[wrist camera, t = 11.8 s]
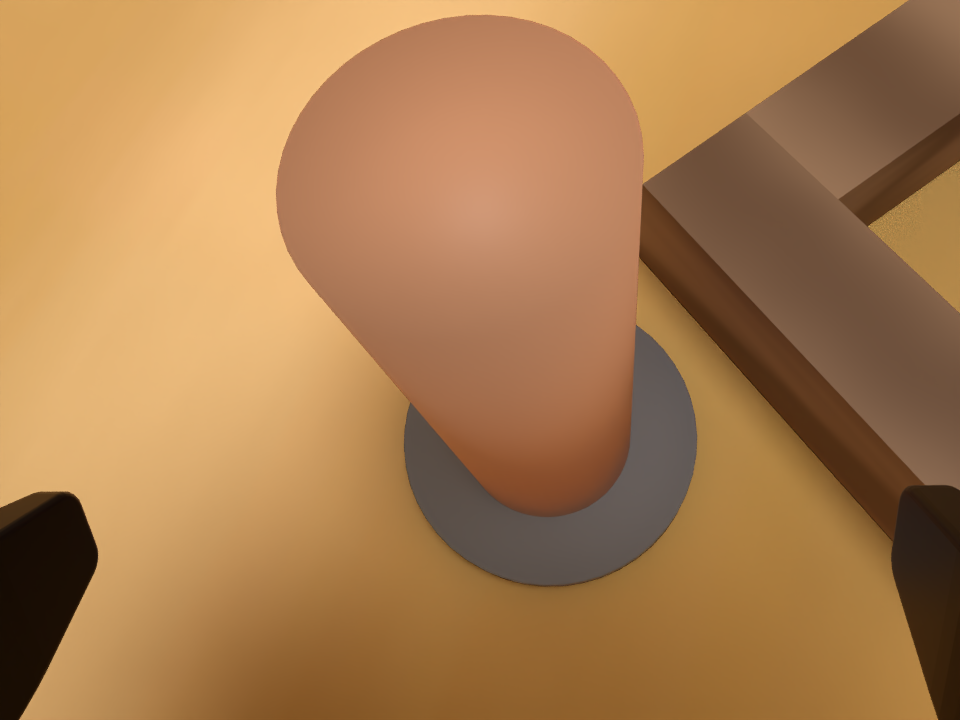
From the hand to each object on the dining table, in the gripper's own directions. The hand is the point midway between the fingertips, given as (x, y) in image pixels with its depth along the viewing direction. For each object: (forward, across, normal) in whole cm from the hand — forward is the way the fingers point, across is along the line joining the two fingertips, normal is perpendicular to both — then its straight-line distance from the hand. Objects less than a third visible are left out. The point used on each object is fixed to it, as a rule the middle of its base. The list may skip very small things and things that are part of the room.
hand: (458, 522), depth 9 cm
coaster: (+12, 0, +6) cm, 14 cm away
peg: (+12, 0, +6) cm, 13 cm away
